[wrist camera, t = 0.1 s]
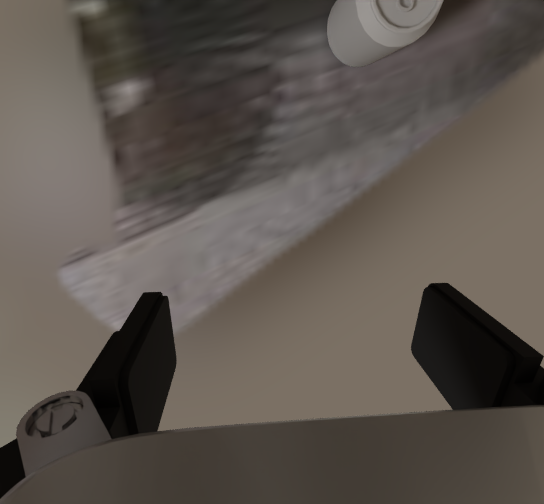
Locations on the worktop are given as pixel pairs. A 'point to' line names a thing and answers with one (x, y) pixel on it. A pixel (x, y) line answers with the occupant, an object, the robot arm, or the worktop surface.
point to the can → (377, 27)
